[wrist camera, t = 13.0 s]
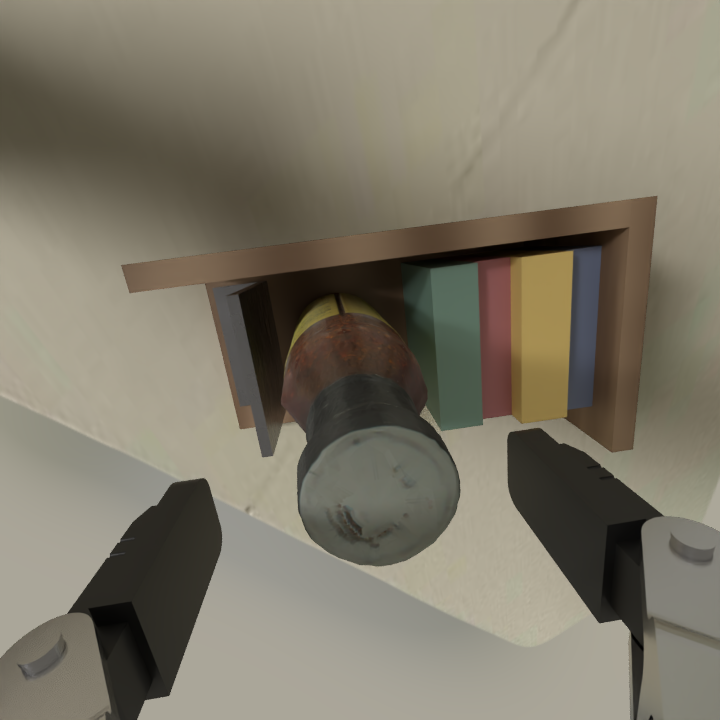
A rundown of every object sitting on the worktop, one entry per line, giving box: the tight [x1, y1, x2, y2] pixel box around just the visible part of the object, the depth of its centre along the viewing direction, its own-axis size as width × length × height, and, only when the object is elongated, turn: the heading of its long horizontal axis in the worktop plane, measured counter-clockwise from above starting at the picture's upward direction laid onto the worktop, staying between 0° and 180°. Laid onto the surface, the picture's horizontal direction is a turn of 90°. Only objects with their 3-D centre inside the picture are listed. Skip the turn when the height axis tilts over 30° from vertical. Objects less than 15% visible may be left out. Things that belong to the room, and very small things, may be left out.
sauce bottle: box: [281, 293, 460, 566], centre depth 18 cm, size 6×6×20 cm
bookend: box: [212, 281, 286, 457], centre depth 24 cm, size 4×9×8 cm, turn 7°
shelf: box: [121, 196, 657, 452], centre depth 24 cm, size 24×13×12 cm, turn 97°
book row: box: [401, 246, 602, 431], centre depth 24 cm, size 9×9×9 cm
